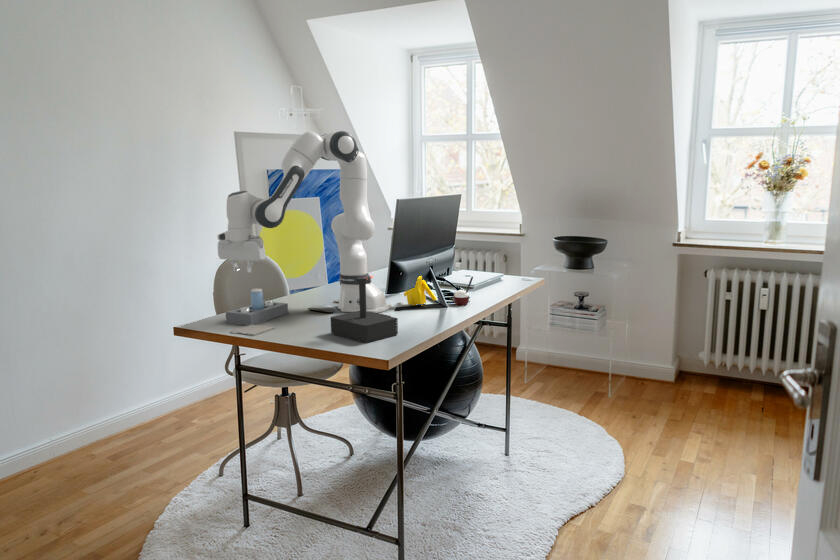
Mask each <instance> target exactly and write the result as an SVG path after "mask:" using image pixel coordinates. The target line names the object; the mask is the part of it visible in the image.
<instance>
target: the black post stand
mask: <svg viewBox="0 0 840 560" xmlns="http://www.w3.org/2000/svg"><path fill="white" fill-rule="evenodd" d="M357 283H358V284H359V299H360V311H356V312H346V313H342V314H339V315H333V316H331V317H330V332H331V334H333V335H335V336H338V337H339V336H340V337H343V338H347V339H350V340H354V341H358V342H361V343H364V344H365V343H366V344H367V343H371V342H374V341H377V340H378V341H379V340H382V339H383V340H384V339H387V338H389V337H394V336H397V335H398V334H399V330H398V329H399V323H398V318H397V317H394V316H391V315H387V314H383V313H381V312H378V313H375V312H368V311H366V283H367V278H366V277H360V278H357Z"/></svg>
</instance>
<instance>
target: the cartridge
mask: <svg viewBox="0 0 840 560" xmlns="http://www.w3.org/2000/svg"><path fill="white" fill-rule="evenodd" d="M250 290H251V291H250V305H251V309H255V310H260V309H263V308H264V305H263V301H264V291H263V289H262V288H252V289H250Z"/></svg>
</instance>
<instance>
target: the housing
mask: <svg viewBox="0 0 840 560" xmlns="http://www.w3.org/2000/svg"><path fill="white" fill-rule="evenodd" d="M265 301H266V300H265ZM265 301H264V300H263V305H264V308H263V309H260V310H255V309H251V304H250V305H246V306H242V307H239V308H236V309H232V310H228V311H225V322H226V323H227V322H229V323H230V324H235V323H238V325H244V324H247V325H246V326H248V325H253V324H254V325H258V324H259V323H260V324H261V323H263V322H266V321H269V320H272V319H274V318H278V317H280V316H283V315H287V314H289V308H288V307H289V305H288V304H289V303H286V302H274V301H273V306H269V305H265ZM243 307H249V310H250V313H243V312H241V308H243Z"/></svg>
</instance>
